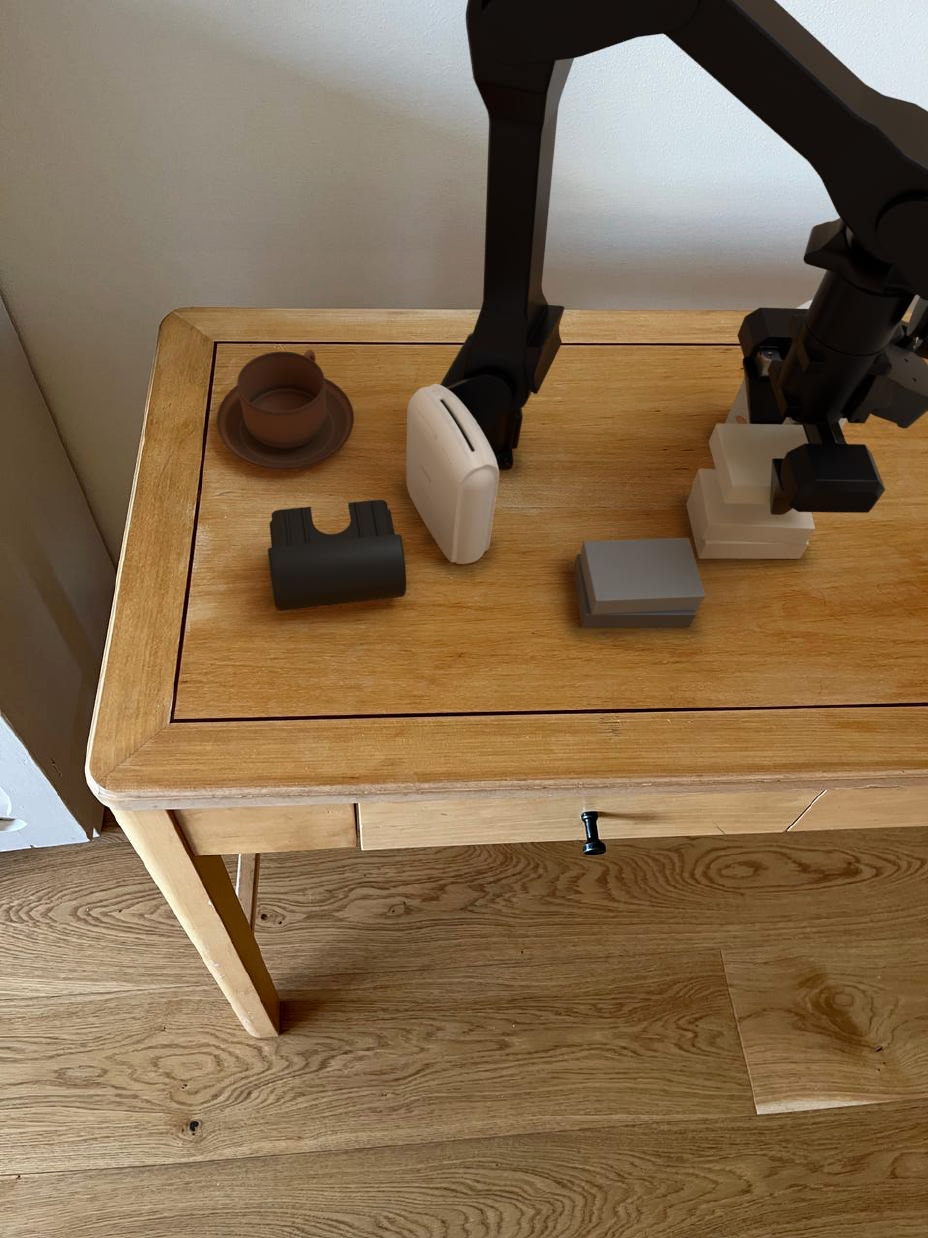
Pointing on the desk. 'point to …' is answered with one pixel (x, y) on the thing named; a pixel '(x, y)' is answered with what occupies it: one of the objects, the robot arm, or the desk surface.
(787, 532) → the white books
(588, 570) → the grey books
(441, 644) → the desk surface
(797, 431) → the white book
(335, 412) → the cup and saucer
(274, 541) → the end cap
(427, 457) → the photo printer
